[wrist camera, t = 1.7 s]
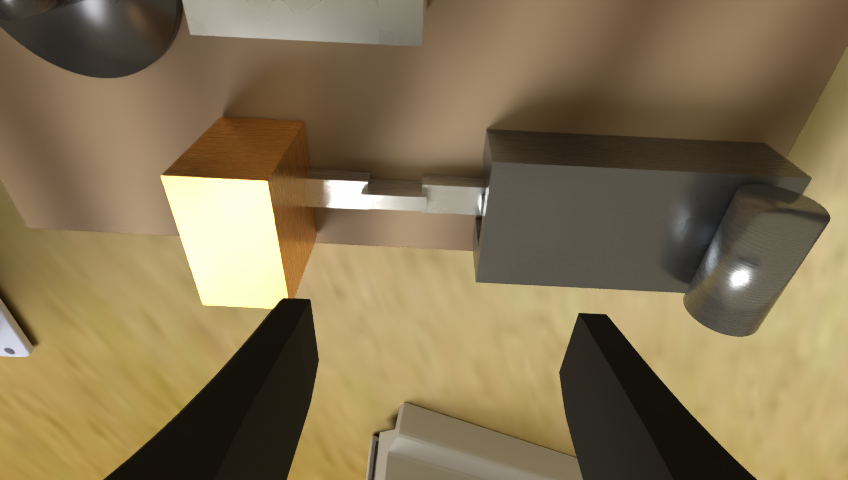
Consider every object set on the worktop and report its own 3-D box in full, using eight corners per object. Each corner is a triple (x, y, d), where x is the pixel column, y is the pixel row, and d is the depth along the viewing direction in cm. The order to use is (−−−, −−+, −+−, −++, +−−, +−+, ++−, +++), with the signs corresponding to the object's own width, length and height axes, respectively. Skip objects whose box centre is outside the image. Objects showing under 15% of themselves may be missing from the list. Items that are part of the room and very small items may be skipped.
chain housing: (472, 241, 20) (479, 329, 16) (486, 129, 17) (500, 202, 13) (709, 253, 20) (778, 344, 16) (765, 142, 17) (868, 220, 13)
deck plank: (40, 217, 21) (27, 228, 20) (-254, -338, 11) (-297, -352, 11) (719, 252, 21) (728, 263, 20) (994, -276, 11) (1028, -287, 11)
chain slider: (246, 231, 20) (202, 304, 16) (220, 116, 17) (160, 175, 13) (686, 253, 20) (740, 332, 16) (739, 142, 17) (819, 209, 13)
